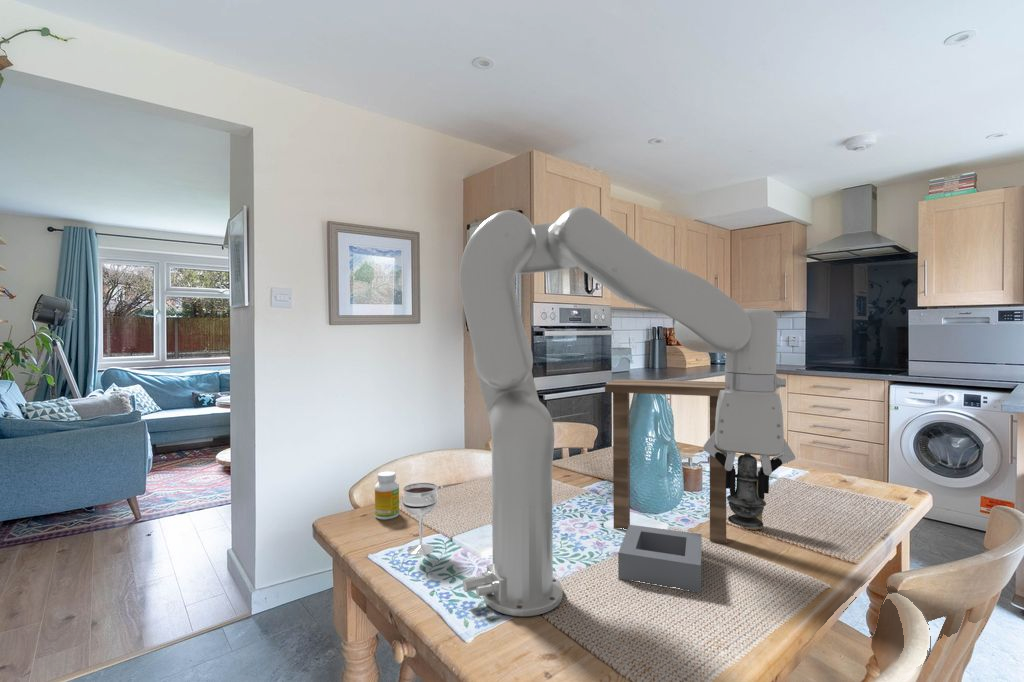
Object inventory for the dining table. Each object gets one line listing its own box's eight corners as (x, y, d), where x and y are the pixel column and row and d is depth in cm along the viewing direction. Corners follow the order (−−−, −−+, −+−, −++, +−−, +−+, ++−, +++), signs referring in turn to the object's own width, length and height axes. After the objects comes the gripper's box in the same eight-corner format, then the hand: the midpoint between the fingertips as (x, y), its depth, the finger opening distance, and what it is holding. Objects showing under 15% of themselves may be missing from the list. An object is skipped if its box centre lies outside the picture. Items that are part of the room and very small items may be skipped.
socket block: (701, 593, 78) (701, 565, 78) (618, 579, 82) (618, 552, 82) (701, 558, 90) (701, 534, 90) (629, 547, 95) (629, 524, 94)
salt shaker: (770, 530, 77) (772, 454, 77) (730, 526, 78) (733, 451, 78) (759, 517, 83) (761, 446, 83) (722, 513, 84) (724, 444, 84)
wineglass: (444, 552, 93) (443, 489, 93) (409, 561, 90) (409, 495, 89) (431, 539, 99) (430, 480, 99) (398, 547, 95) (397, 486, 95)
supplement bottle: (395, 520, 110) (395, 476, 109) (372, 520, 110) (371, 476, 110) (401, 511, 115) (401, 470, 115) (378, 511, 115) (378, 470, 115)
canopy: (728, 563, 88) (728, 388, 87) (605, 545, 96) (604, 384, 95) (725, 537, 99) (725, 382, 98) (615, 523, 107) (615, 379, 106)
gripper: (803, 385, 81) (799, 495, 81) (696, 379, 87) (693, 482, 87) (812, 389, 74) (808, 510, 74) (695, 382, 80) (692, 494, 80)
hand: (746, 494), depth 81 cm, fingers closed on salt shaker, 3 cm apart
